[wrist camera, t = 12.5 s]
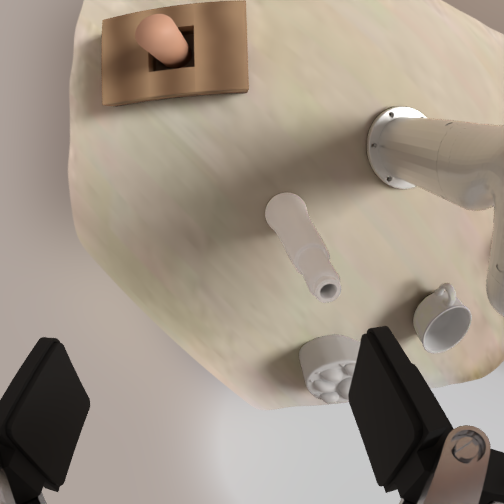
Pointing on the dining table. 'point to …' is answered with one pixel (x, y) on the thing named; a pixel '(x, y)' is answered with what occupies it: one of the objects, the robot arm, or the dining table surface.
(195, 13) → the socket board
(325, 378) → the lumpy-topped squat cylinder
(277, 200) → the cosmetic bottle
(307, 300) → the dining table surface
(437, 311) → the teacup
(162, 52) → the peg
